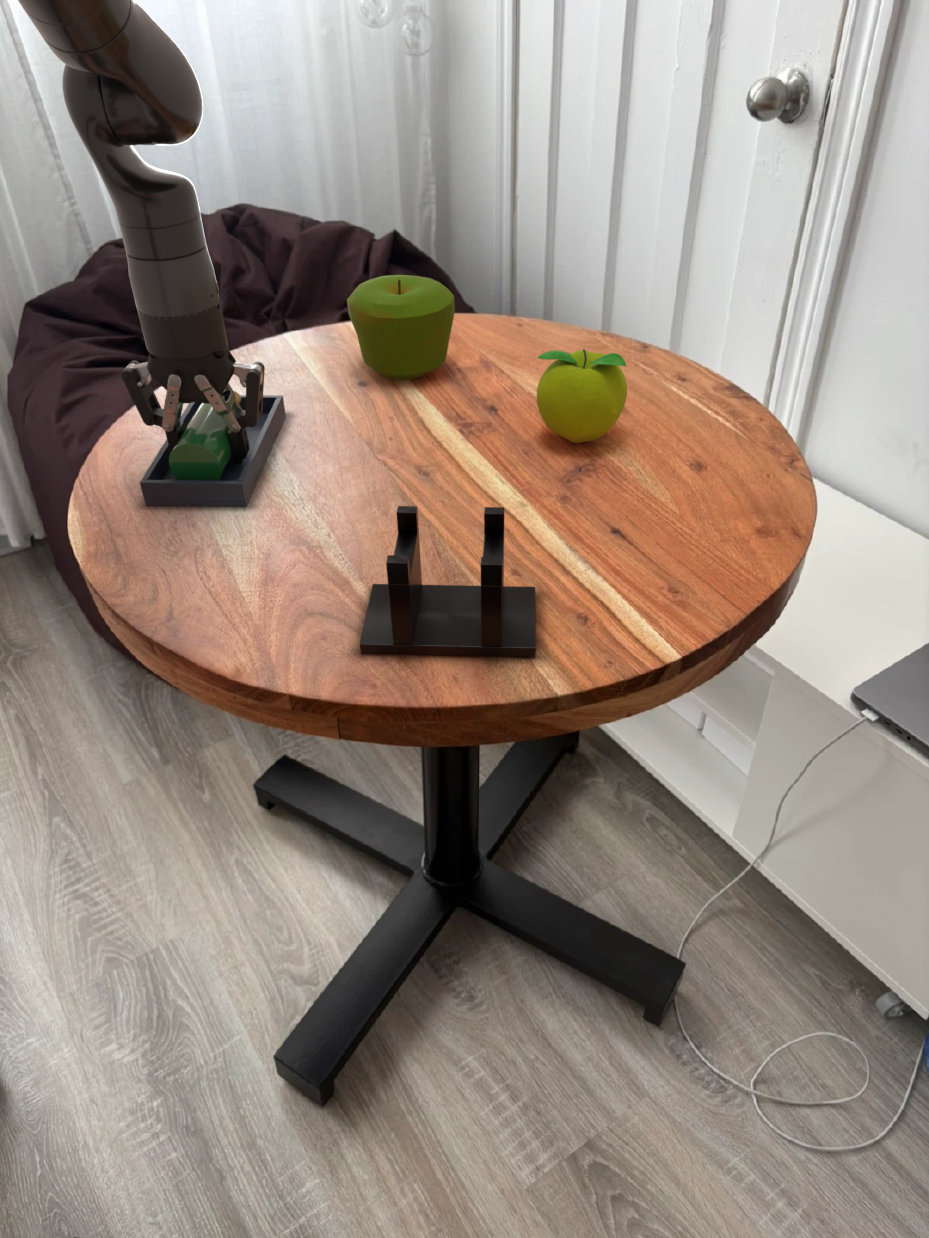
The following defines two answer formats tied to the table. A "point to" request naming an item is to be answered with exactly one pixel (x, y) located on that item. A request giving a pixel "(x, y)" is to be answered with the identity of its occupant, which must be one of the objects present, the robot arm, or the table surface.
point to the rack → (449, 603)
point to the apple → (402, 324)
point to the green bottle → (202, 447)
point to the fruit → (581, 393)
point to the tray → (235, 478)
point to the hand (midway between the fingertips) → (212, 459)
